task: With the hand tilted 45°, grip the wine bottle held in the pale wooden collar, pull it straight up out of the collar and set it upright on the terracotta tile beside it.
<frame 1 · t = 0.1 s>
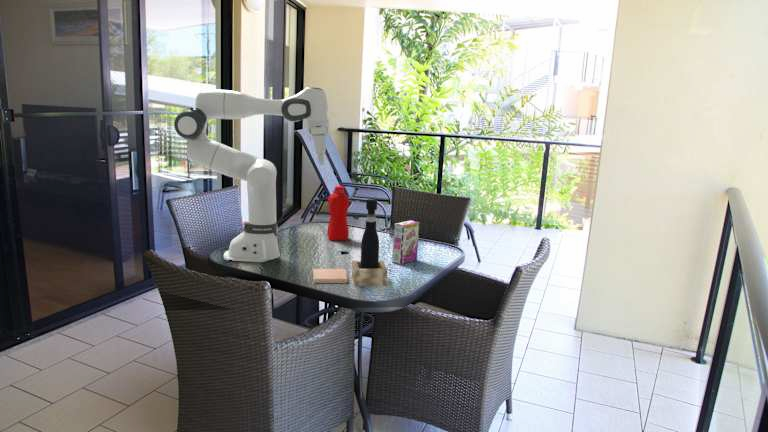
hand: (321, 163, 232), 39 cm above the table, tool pointing down, fingers open, 8 cm apart
water bottle: (336, 239, 270), on the table
terracotta tile: (329, 277, 213), on the table
candy bar box: (404, 261, 238), on the table
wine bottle: (368, 281, 211), resting in bottle collar
bottle collar: (368, 280, 211), on the table
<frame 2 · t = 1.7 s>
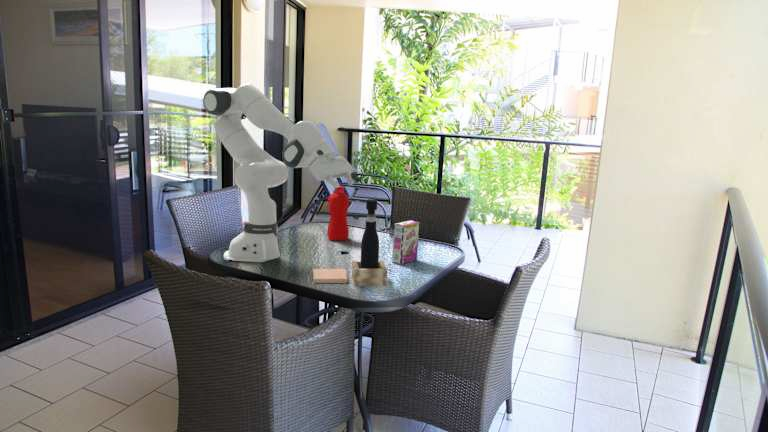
hand: (344, 185, 211), 34 cm above the table, tool tilted 45°, fingers open, 8 cm apart
nothing on the table moved.
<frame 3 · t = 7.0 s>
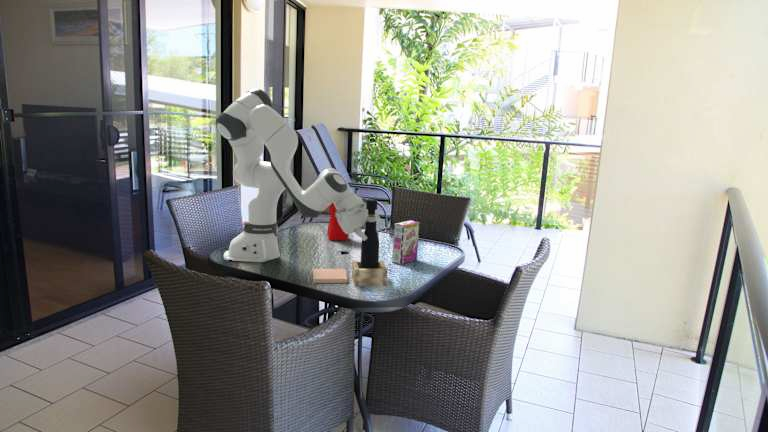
hand: (371, 237, 207), 16 cm above the table, tool tilted 45°, fingers open, 6 cm apart
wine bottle: (368, 281, 211), resting in bottle collar, touching gripper
everything else where it was.
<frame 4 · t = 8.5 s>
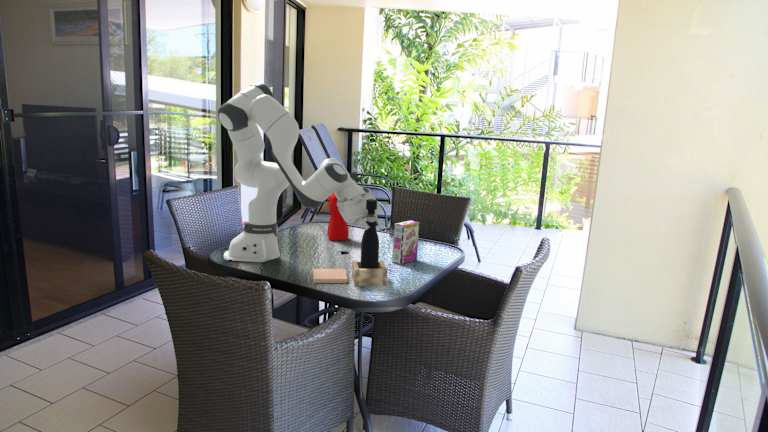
hand: (373, 227, 207), 20 cm above the table, tool tilted 45°, fingers open, 5 cm apart
nothing on the table moved.
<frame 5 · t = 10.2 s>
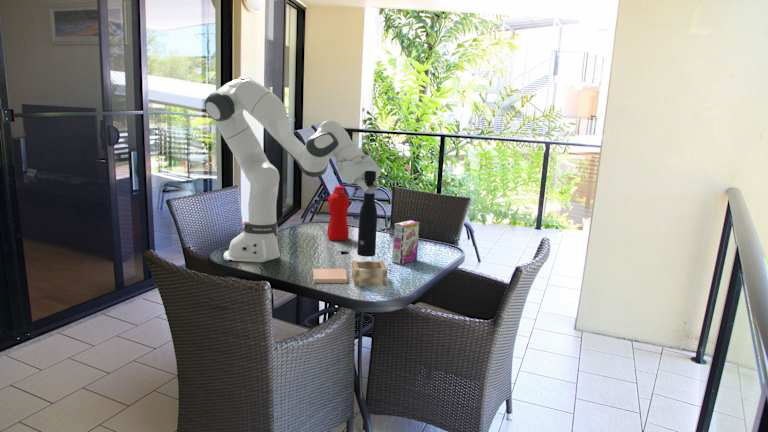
hand: (372, 188, 204), 34 cm above the table, tool tilted 45°
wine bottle: (366, 254, 208), point 10 cm above the table, touching gripper
everything else where it was.
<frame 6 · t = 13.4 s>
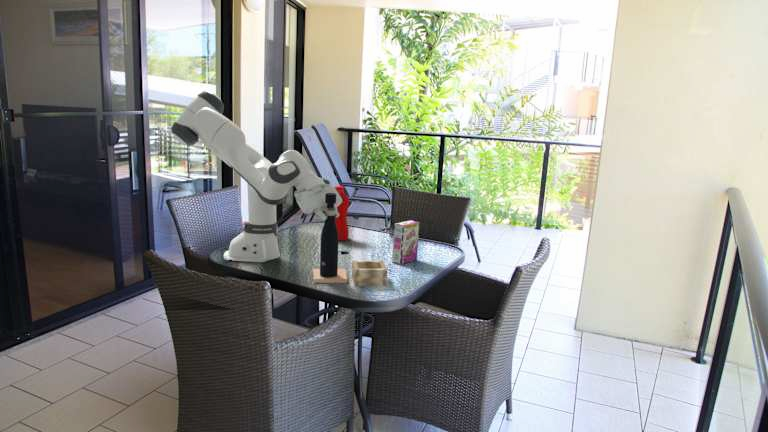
hand: (331, 218, 207), 23 cm above the table, tool tilted 45°, fingers open, 5 cm apart
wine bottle: (328, 275, 211), point 1 cm above the table, touching gripper, terracotta tile
everything else where it was.
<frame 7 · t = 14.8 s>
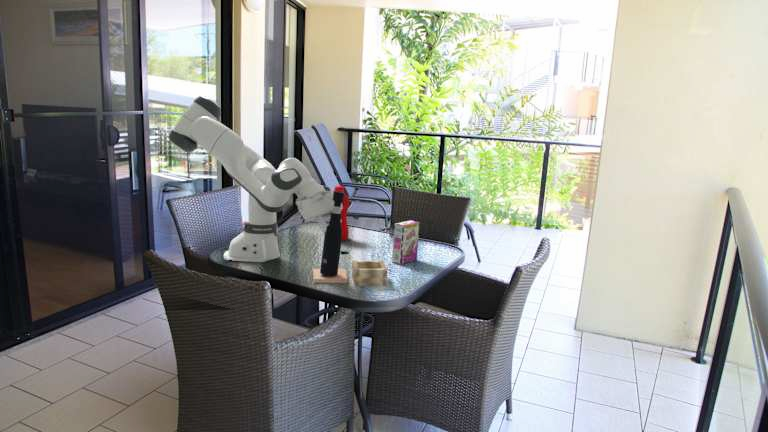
hand: (333, 224, 208), 20 cm above the table, tool tilted 45°, fingers open, 6 cm apart
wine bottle: (328, 274, 211), point 2 cm above the table, touching terracotta tile
everything else where it was.
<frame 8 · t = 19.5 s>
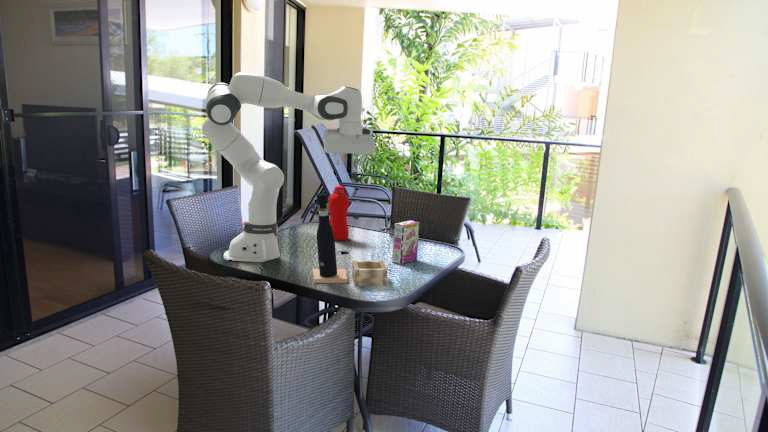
hand: (349, 164, 228), 39 cm above the table, tool pointing down, fingers open, 8 cm apart
at the end: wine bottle inside the target area (1.5 cm from its centre), point 1.6 cm above the table; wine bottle tilted 5°; the gripper is holding nothing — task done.
